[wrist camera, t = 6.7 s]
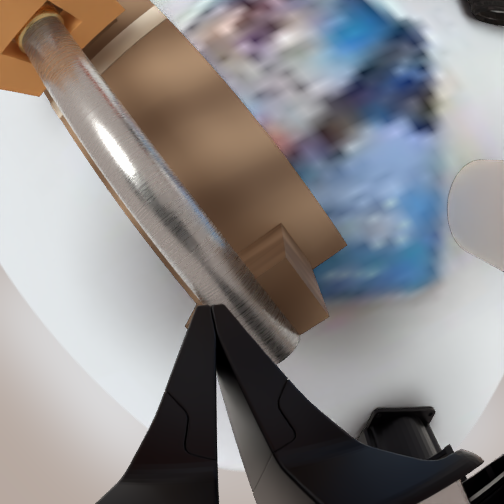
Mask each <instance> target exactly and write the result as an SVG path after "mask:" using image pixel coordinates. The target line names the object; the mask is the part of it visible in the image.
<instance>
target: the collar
mask: <svg viewBox="0 0 504 504" xmlns="http://www.w3.org/2000/svg"><path fill="white" fill-rule="evenodd" d="M46 1H47V0H0V89H2V90H8V91H13V92H18V93H24V94H29V95H34V96H38V97H40V95H41V94H42V93H43V92H44V91H45V89H46V87H45V85H44V83H43V82H42V80H41V78H40V77H39V75H38V73H37V72H36V70H35V68H34V66H33V65H32V63H31V61H30V60H29V58H28V56H27V54H25V53H23V52H22V51H21V50H20V48H19V46H18V44H17V43H16V42H14V41H12V39H13V38H14V37H15V36H16V34H17V33H18V32H19V31H20V30H21V28H22V27H23V26H24V25H25V24H26V23H27V21H28V20H29V19H30V18H31V17H32V16H33V15H34V14H35V12H36V11H37V10H38V9H39V8H40V7H41V6H42V5H43V4H44V3H45V2H46ZM48 1H50V2H51V3H53V4H55V5H57V6H58V7H60V8H61V9H63V11H62V12H61V13H60V15H61V16H62V18H63V20H64V26H65V27H66V29H67V30H68V31H69V33H70V34H71V36H72V37H73V38H74V40H75V41H76V42H77V44H78V45H79V46H80V48H81V49H83V48H84V47H85V46H86V45H87V44H88V43H89V42H90V41H91V40H92V39H93V38H94V37H95V36H96V35H97V34H99V33H100V32H101V31H102V30H103V29H104V28H105V27H106V26H107V25H109V24H110V23H111V22H112V21H113V20H114V19H115V18H117V17H118V16H119V15H120V14H121V13H123V12H124V11H125V9H124V8H123V7H122V6H121V5H120V4H119V2H118V1H117V0H48Z"/></svg>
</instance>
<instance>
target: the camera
mask: <svg viewBox="0 0 504 504" xmlns="http://www.w3.org/2000/svg"><path fill="white" fill-rule="evenodd" d="M468 1H469V3H470V5H471V11H472V13H473V14H474V15H475V17H476V19H478V20H480V21H482V22H485V23H489V24H494V25H501V26H504V0H468Z"/></svg>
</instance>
